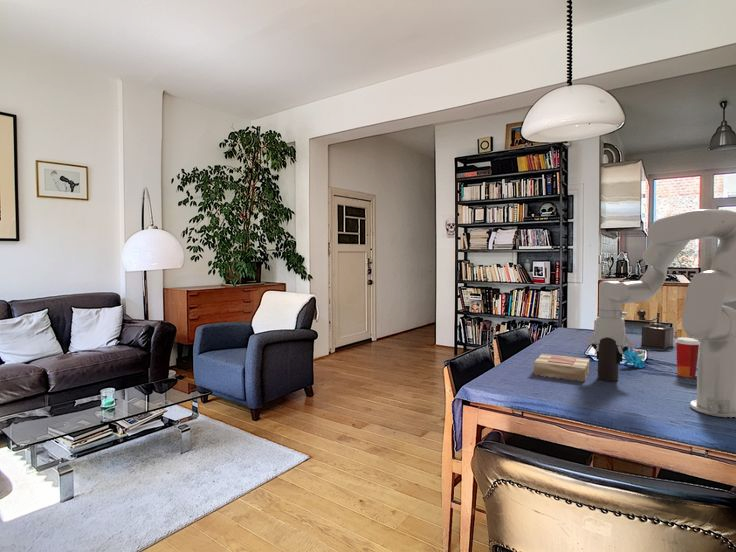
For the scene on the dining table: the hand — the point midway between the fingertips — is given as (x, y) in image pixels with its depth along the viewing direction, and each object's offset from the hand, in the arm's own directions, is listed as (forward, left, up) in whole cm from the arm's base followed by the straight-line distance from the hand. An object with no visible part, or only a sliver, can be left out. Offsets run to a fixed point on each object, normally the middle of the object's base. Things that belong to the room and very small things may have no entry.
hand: (609, 362), depth 167 cm
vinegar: (0, 0, -7) cm, 7 cm away
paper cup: (+20, -25, -7) cm, 32 cm away
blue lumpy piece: (+25, -7, -7) cm, 27 cm away
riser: (0, +16, -7) cm, 18 cm away
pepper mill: (+73, -15, -7) cm, 75 cm away
